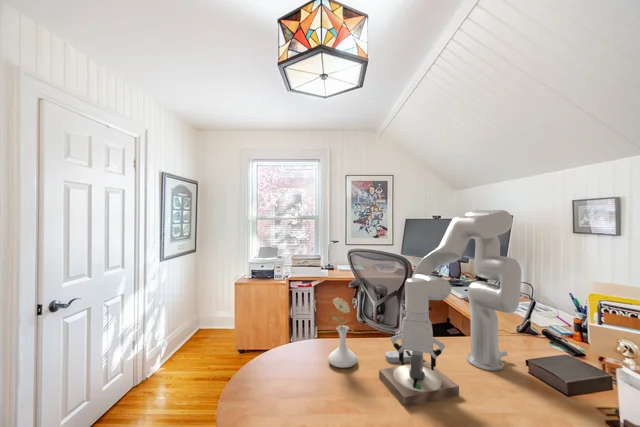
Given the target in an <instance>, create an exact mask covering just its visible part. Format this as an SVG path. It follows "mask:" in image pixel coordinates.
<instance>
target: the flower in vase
mask: <svg viewBox="0 0 640 427" xmlns="http://www.w3.org/2000/svg"><path fill="white" fill-rule="evenodd" d="M332 303H333V305H334V307H336V309H337V310H338V313H337V316H339V315H340V312H342V313H344V314H348V313H350V310H351V308H350V305H349V303H348V302H347V301H346V300H344V299H343V298H340V297H336V298H333V299H332ZM331 319H332V320H334V321H336V322H338V323H339V325H338V326H336V327H335V328H336V330H337V332H338V336H339V346H338V347H337V348H336V349H334V350H333V351H332V352H330V353H329V355H328V358H327V361H328V362H329V363H330V364H331V365H332V366H333V367H336V368H342V369H344V368H345V369H347V368H351V367H353V366H355V365H356V364H357V363H358V357H357V355H356V354H355V353H354V352H353V351H352V350H351V349H349V348H348V347H347V344H346V343H347V342H346V341H347V340H346V338H347V333H348V331H349V329H350V327H349V326H347V325H345V324H346V323H347V322H348V320H344V321H342V322H340V319H339V317H336V316H335V315H334V316H332V318H331Z"/></svg>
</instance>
